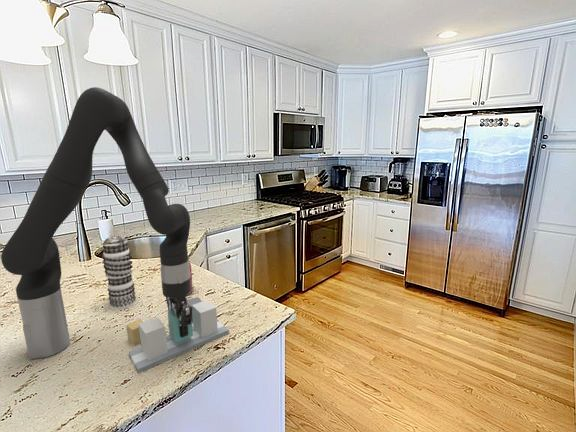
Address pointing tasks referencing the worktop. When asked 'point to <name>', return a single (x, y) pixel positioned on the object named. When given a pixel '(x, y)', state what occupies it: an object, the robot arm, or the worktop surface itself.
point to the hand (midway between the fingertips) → (180, 331)
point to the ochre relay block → (134, 332)
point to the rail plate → (164, 348)
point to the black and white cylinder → (118, 272)
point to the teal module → (177, 327)
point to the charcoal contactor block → (192, 302)
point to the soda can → (190, 277)
